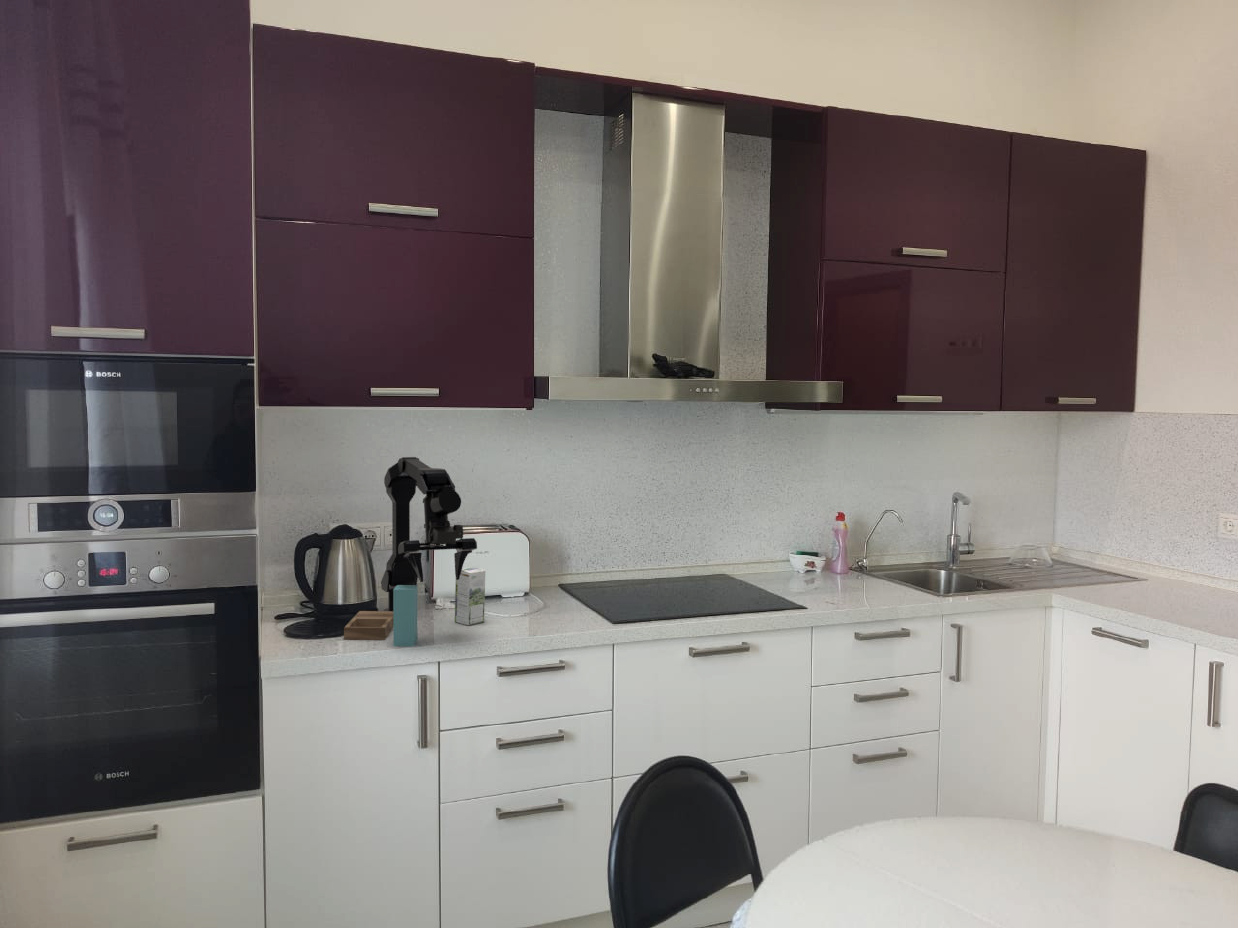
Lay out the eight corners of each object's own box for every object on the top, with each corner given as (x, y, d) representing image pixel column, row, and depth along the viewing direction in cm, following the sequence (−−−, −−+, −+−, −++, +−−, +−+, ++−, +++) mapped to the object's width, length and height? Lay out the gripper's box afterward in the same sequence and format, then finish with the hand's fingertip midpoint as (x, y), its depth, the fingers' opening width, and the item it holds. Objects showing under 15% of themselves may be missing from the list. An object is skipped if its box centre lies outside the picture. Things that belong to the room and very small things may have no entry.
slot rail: (359, 622, 248) (359, 611, 247) (397, 622, 248) (397, 611, 248) (344, 639, 231) (344, 627, 230) (384, 639, 231) (384, 627, 231)
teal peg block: (397, 640, 231) (397, 585, 230) (417, 640, 231) (417, 585, 230) (393, 645, 226) (393, 589, 225) (414, 646, 226) (414, 589, 225)
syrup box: (470, 618, 254) (470, 566, 253) (485, 622, 250) (485, 569, 249) (454, 622, 250) (454, 569, 248) (469, 626, 246) (469, 572, 245)
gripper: (408, 514, 221) (412, 580, 219) (482, 513, 230) (486, 576, 228) (396, 521, 231) (399, 584, 228) (467, 519, 240) (471, 579, 237)
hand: (439, 580), depth 230 cm, fingers open, 9 cm apart
